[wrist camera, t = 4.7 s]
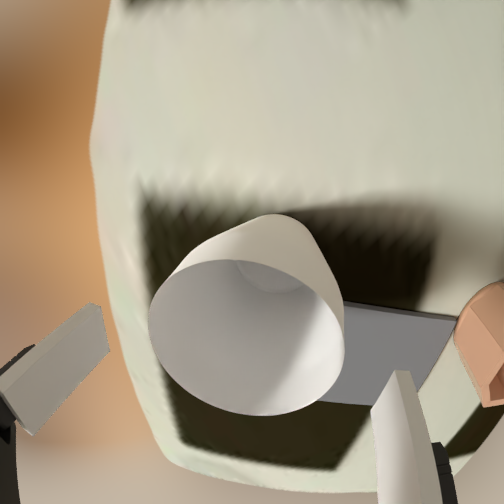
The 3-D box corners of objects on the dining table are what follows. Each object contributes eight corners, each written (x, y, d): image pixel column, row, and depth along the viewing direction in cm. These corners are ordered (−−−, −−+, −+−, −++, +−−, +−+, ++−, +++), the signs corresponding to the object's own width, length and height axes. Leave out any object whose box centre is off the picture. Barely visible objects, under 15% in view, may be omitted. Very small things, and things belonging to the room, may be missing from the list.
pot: (475, 276, 19) (520, 322, 12) (526, 287, 18) (566, 326, 10) (440, 353, 22) (464, 409, 15) (493, 354, 21) (519, 400, 14)
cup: (353, 270, 21) (382, 378, 10) (263, 320, 25) (228, 430, 14) (288, 174, 20) (261, 202, 9) (199, 239, 23) (113, 315, 12)
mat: (340, 300, 22) (341, 305, 22) (453, 317, 21) (456, 321, 20) (308, 393, 27) (308, 398, 26) (405, 401, 25) (406, 406, 24)
